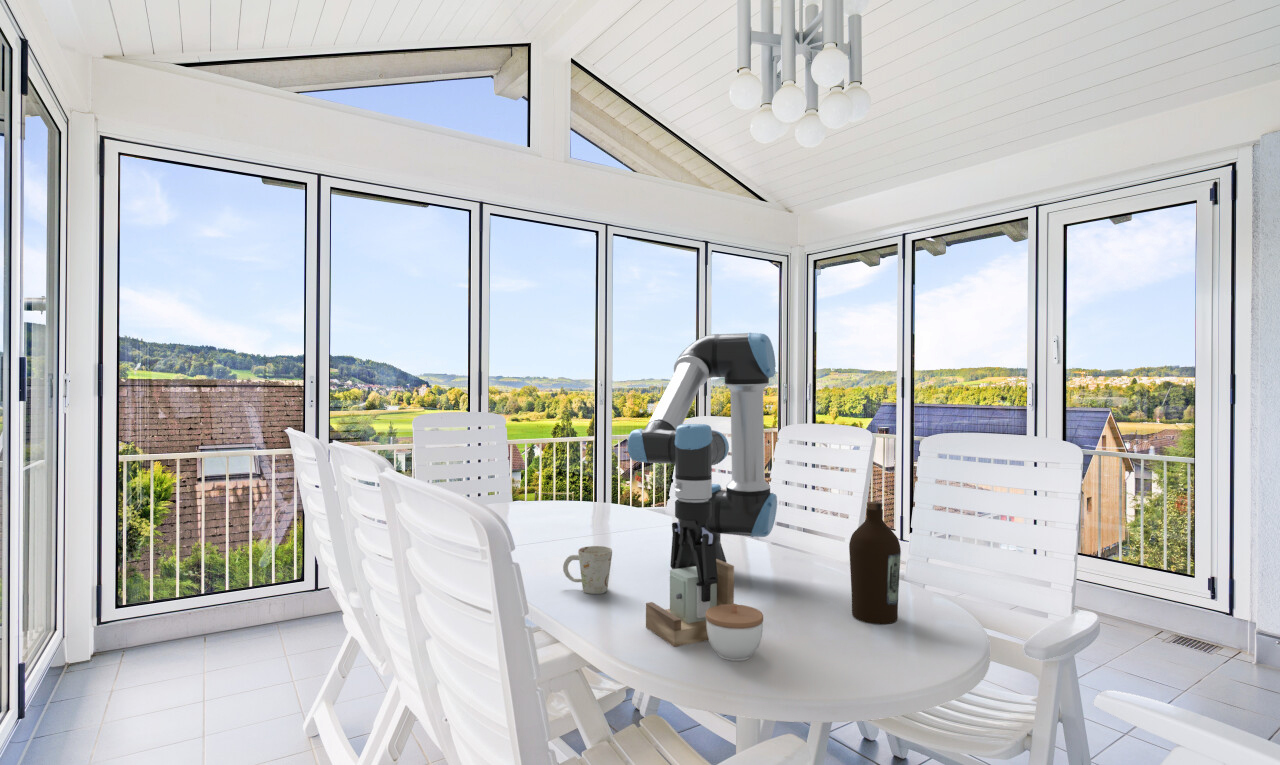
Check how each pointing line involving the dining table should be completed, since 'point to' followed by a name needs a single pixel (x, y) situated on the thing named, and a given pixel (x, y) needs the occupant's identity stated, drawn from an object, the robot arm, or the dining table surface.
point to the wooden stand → (694, 632)
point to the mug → (592, 568)
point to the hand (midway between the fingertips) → (692, 610)
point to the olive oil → (874, 569)
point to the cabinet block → (687, 594)
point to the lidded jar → (734, 630)
